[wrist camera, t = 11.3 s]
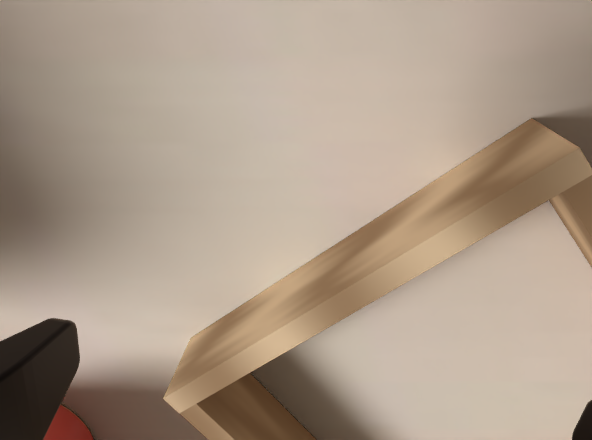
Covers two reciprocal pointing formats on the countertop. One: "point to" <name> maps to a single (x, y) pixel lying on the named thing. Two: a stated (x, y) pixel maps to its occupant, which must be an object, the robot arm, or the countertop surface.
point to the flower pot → (67, 427)
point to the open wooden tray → (373, 275)
